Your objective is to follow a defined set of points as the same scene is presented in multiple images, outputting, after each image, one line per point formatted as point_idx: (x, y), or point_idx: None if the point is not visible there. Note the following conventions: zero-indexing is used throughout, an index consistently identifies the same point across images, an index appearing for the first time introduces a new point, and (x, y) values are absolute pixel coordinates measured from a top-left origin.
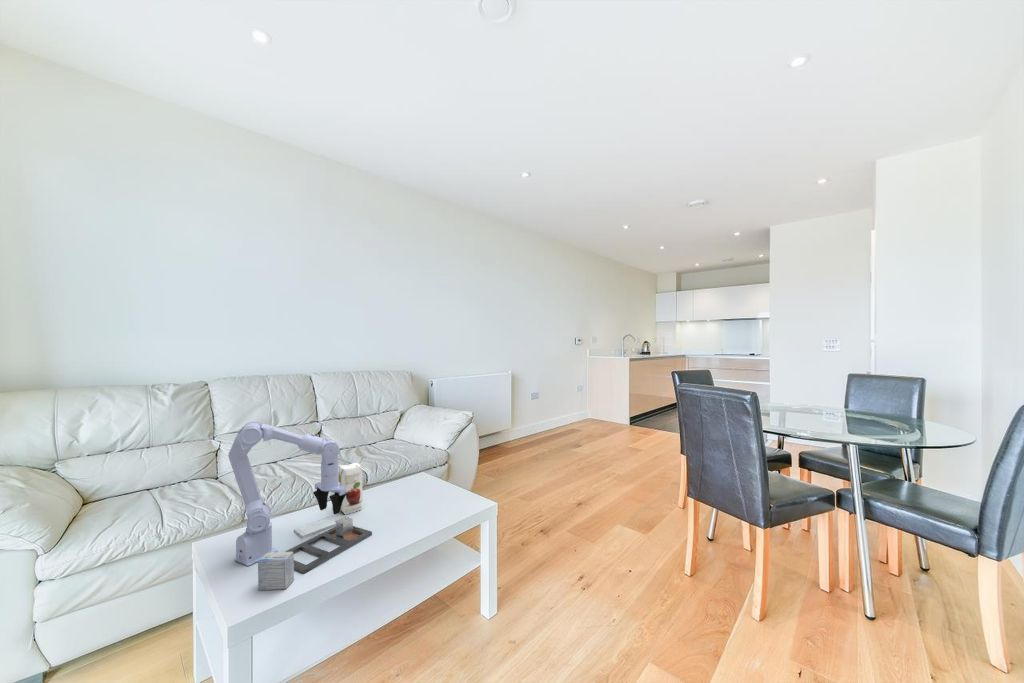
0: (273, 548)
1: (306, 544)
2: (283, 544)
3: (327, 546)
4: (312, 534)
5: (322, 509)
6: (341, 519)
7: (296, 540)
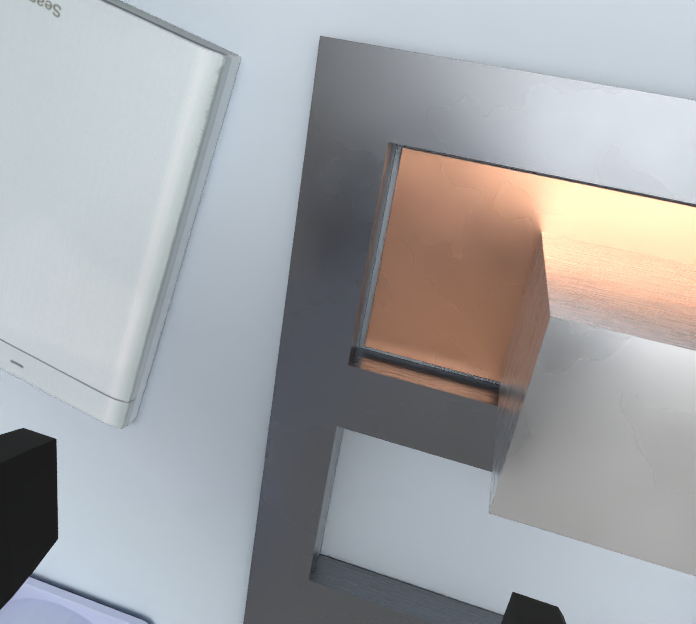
0: (87, 609)
1: (318, 588)
2: (80, 519)
3: (528, 527)
4: (158, 337)
5: (51, 523)
6: (559, 440)
7: (117, 452)
